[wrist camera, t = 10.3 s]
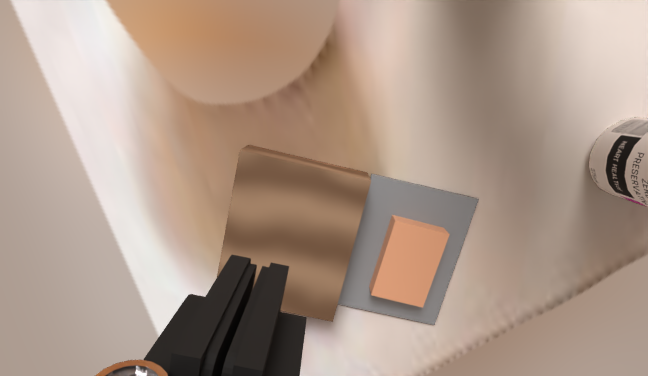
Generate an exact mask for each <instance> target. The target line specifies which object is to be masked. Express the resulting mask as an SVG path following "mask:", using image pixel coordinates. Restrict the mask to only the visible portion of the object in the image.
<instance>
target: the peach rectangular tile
mask: <svg viewBox="0 0 648 376" xmlns="http://www.w3.org/2000/svg"><path fill="white" fill-rule="evenodd" d="M449 235H450V234H449V233H448V232H447V231H446V230H445V228H443V227H439V226H435V225H431V224H427V223H423V222H419V221H415V220H411V219H407V218H403V217H399V216H395V215H392V217H391V220H390V223H389V226H388V229H387V232H386V235H385V238H384V242H383V245H382V248H381V251H380V254H379V257H378V260H377V263H376V266H375V270H374V273H373V276H372V279H371V282H370V285H369V288H370V292H371V295H372V296H376V297H381V298H385V299H389V300H393V301H397V302H401V303H406V304H410V305H414V306H418V307H422V308H423V306H424V303H425V300H426V298H427V295H428V292H429V290H430V287H431V284H432V281H433V279H434V276H435V273H436V270H437V268H438V265H439V262H440V260H441V257H442V254H443V251H444V249H445V246H446V243H447V240H448V238H449Z"/></svg>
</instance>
